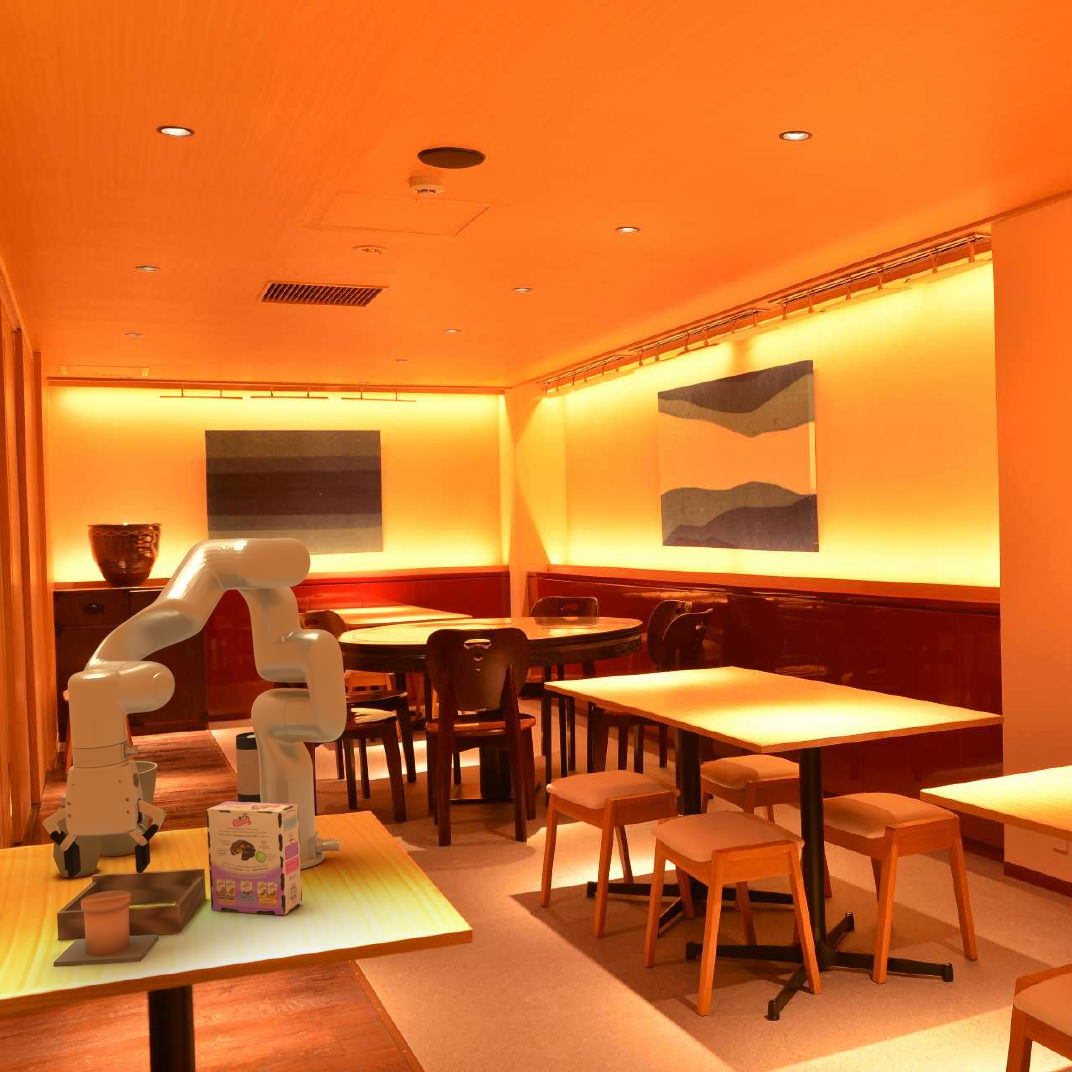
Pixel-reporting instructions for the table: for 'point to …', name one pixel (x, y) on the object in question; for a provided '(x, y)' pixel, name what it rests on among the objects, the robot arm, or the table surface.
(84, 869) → the squeeze bottle
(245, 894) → the candy box
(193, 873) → the frame
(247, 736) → the travel mug
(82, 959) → the mat
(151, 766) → the plant pot
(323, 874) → the table surface
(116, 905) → the terracotta pot
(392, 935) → the table surface
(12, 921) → the table surface
